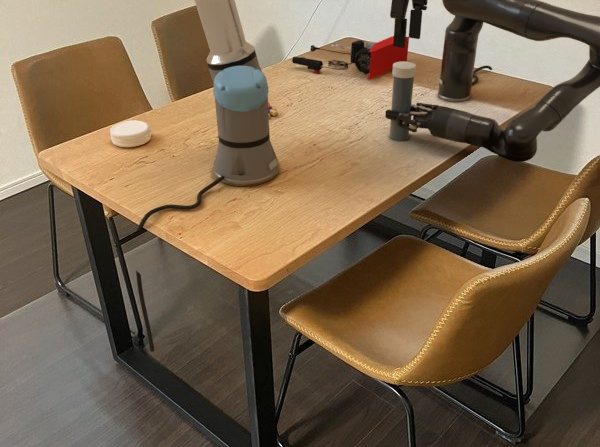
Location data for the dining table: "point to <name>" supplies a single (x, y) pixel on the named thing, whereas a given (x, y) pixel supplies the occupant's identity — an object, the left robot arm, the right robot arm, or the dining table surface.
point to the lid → (404, 69)
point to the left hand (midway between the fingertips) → (406, 42)
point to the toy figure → (271, 110)
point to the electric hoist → (364, 57)
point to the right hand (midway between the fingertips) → (391, 110)
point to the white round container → (130, 133)
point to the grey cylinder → (401, 105)
